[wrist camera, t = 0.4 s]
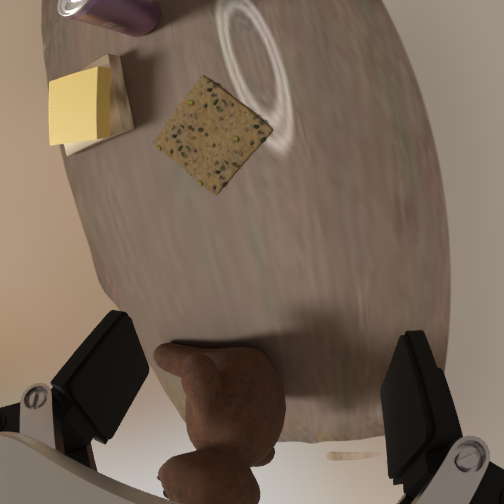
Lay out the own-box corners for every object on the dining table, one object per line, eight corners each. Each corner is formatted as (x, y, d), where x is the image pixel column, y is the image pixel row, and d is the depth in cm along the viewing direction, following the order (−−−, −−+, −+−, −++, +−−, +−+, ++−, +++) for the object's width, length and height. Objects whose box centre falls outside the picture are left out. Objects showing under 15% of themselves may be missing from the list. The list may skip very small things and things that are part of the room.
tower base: (65, 88, 35) (53, 89, 32) (119, 56, 32) (107, 54, 29) (79, 153, 39) (67, 156, 37) (135, 128, 36) (123, 130, 34)
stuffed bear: (143, 315, 52) (37, 465, 21) (254, 294, 44) (167, 530, 14) (209, 409, 62) (160, 536, 31) (303, 404, 55) (277, 561, 24)
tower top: (62, 81, 31) (49, 81, 29) (111, 68, 30) (97, 66, 27) (63, 142, 36) (49, 145, 33) (110, 136, 34) (96, 139, 32)
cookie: (203, 73, 32) (200, 72, 31) (275, 129, 34) (274, 129, 33) (152, 142, 37) (149, 143, 37) (217, 196, 39) (214, 198, 38)
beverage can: (167, 1, 27) (104, -35, 14) (156, 37, 30) (87, 12, 17) (132, 4, 28) (65, -23, 14) (122, 38, 30) (50, 21, 17)
